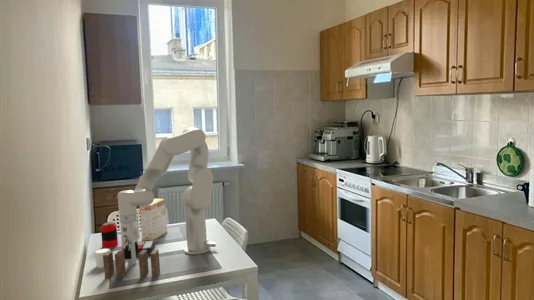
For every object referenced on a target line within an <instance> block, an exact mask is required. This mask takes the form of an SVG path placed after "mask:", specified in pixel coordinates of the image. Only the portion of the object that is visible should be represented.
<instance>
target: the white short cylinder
mask: <svg viewBox="0 0 534 300" xmlns="http://www.w3.org/2000/svg"><path fill="white" fill-rule="evenodd" d="M107 251H111V248H99V249H96V250H94V251H93V255H94V258H95V264H96V268H98V269H102V268H103V269H104V262H103V255H104V254H105V253H106V252H107Z"/></svg>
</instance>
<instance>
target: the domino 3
mask: <svg viewBox="0 0 534 300" xmlns="http://www.w3.org/2000/svg"><path fill="white" fill-rule="evenodd" d="M127 243H129V242H127ZM126 246H127V247H128V245H126ZM130 250H131V257H132V258H131V259H127V266H128V267H132V266H134V265H135V264H136V262H137V256H136V252H135V243H134V244H131V246H130Z"/></svg>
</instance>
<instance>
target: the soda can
mask: <svg viewBox="0 0 534 300" xmlns="http://www.w3.org/2000/svg"><path fill="white" fill-rule="evenodd" d="M117 228H118V227H117V224H116V223H115V222H113V221H111V222H110V221H109V222H108V221H107V222H105V223H102V224H101V227H100V232H101V243H102V249H104V248H107V249H113V248H116V247H118V246H119V240H118V239H119V238H118V232H117V231H118V229H117Z"/></svg>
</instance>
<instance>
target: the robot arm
mask: <svg viewBox="0 0 534 300" xmlns="http://www.w3.org/2000/svg"><path fill="white" fill-rule="evenodd" d="M206 139H207V138H206V134H205V132H204V131H203V129H200V128H198V127H197V128H196V127H187V128H186V129H183V131H182V133H181V134H177V135H175V136H169V135H168V136H165V137H164V138H162V139H161V141H160V142H159V144H158V147H157V149H156V150H155V152H154V155H152V158H151V160H150V162H149V165H148V166H147V167H146V168H145V169H144V172H143V173H142V174H141V176H140V178H139V180H138V182H137V184H136V185H135V188H134V190H133V189H127V190H121V191H119V192H118V193H117V203H118V205H117V206H118V215H119V216H118V217H119V223H120V232H121V233H120V236H121V246H122V248H123V251H124V257H125V260H128V259H131V258H132V257H131V250H130V246H131V244H134V243H135V252H138V242H139V241H138V240H139V239H140V231H139V230H140V229H139V223H138V213H137V212H138V211H137V209H138V208H137V207H140V206H147V205H150V204H151V203H152V202H153V200H154V199H155V194H154V193H153V188H154V186H155V184H156V183H157V182H158V180H160V178H162V177H163V176H164V175H166V173H167V172H168V169H169V168H170V166H171V165H172V161H173V160H174V157H175V156H178V155H181V154H184V153H187V152H189V151H190V159H189V164H188V172H187V178H188V181H189V182H191V183H192V185H191V186H189V187H187V188H186V189H185V190H184V191H183V194H182V202H183V207H184V209H183V210H184V217H185V218H184V219H185V232H186V244H187V246H186V247H184V249H183V250H184V253H185V254H187V255H192V256H193V255H195V256H196V255H202V254H205V253H208V252H209V251H210V250H211V248H216V246H217V245H216V244H217V243H216V242H215V241H209V239H208V238H207V224H206V211H205V209H206V208H207V207H208V206H209V204H210V201H211V197H212V190H213V182H214V176H213V172H212V170H211V168H209V167H208V166H209V165H208V164H209V147H208V144H207V142H206ZM128 242H129V243H128ZM126 245H128V247H127V246H126Z"/></svg>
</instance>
